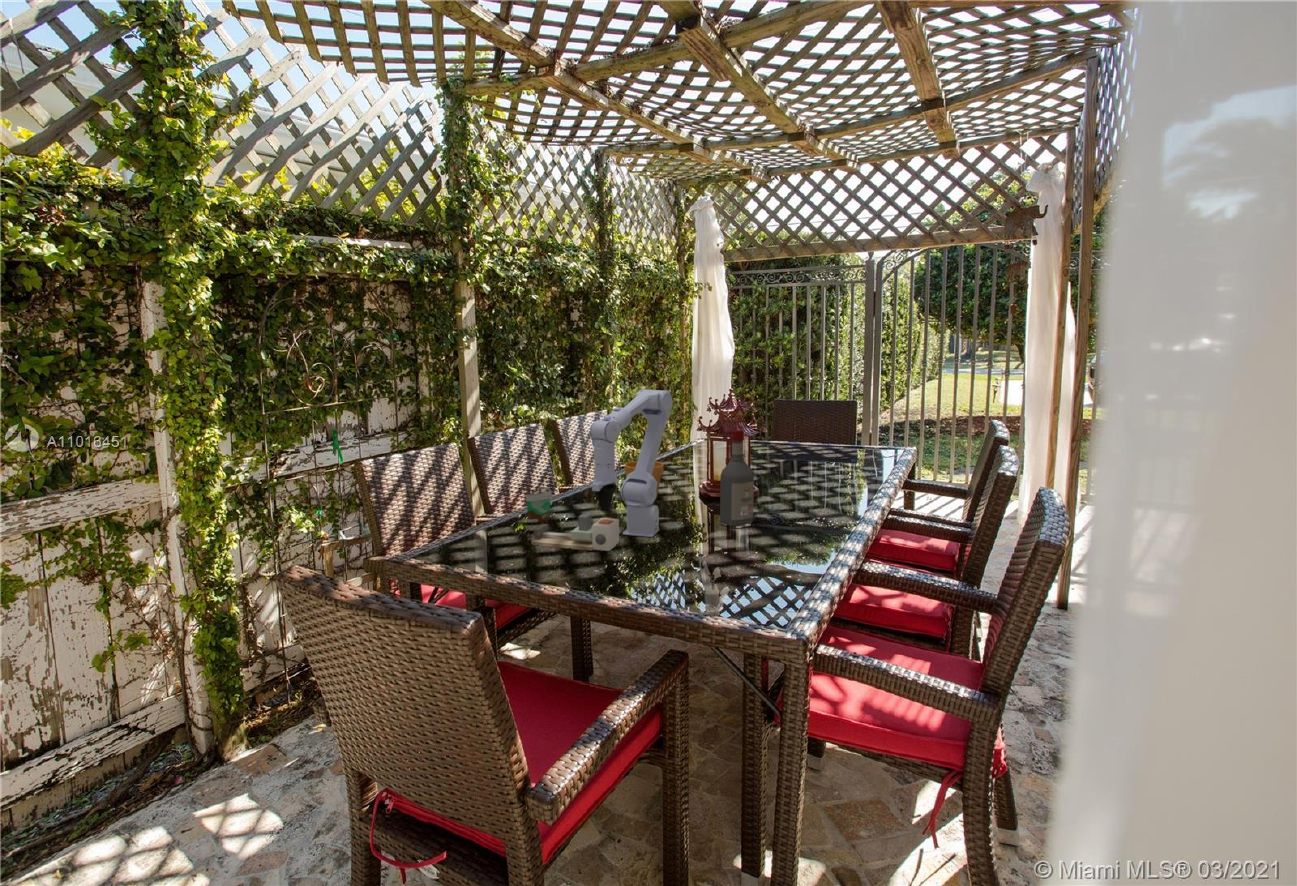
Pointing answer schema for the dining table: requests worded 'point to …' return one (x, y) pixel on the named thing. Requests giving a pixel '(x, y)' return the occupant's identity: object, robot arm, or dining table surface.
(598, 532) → the end cabinet
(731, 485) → the liquor
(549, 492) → the food container
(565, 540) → the rail bed
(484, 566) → the dining table surface
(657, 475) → the flower pot
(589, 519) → the carriage
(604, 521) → the button
